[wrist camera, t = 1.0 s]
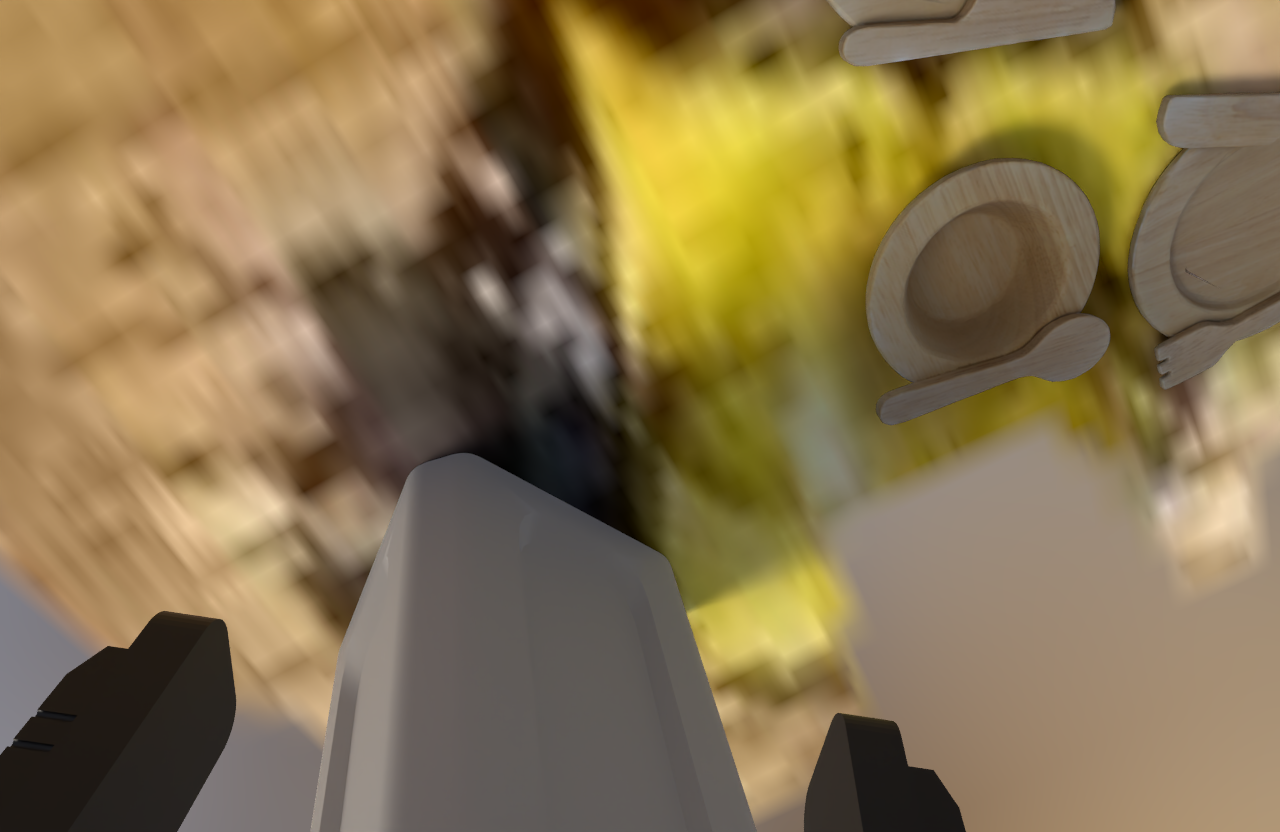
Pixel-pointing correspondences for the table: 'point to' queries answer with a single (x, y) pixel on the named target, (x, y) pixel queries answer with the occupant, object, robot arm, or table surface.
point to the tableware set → (1063, 229)
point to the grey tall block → (520, 676)
